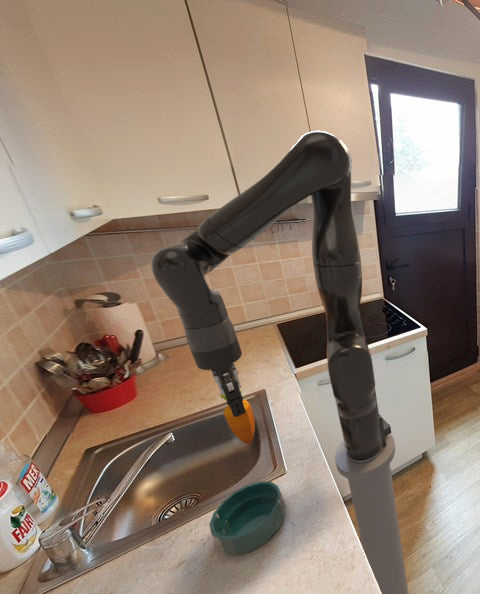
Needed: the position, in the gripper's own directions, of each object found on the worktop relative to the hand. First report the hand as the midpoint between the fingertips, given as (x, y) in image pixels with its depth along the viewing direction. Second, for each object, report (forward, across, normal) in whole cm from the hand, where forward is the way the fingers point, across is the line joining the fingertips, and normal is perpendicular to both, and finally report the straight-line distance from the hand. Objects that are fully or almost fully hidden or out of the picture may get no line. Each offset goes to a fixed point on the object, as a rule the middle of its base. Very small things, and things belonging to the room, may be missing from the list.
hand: (237, 407), depth 73 cm
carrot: (+11, 0, 0) cm, 11 cm away
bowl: (+22, -12, +4) cm, 25 cm away
